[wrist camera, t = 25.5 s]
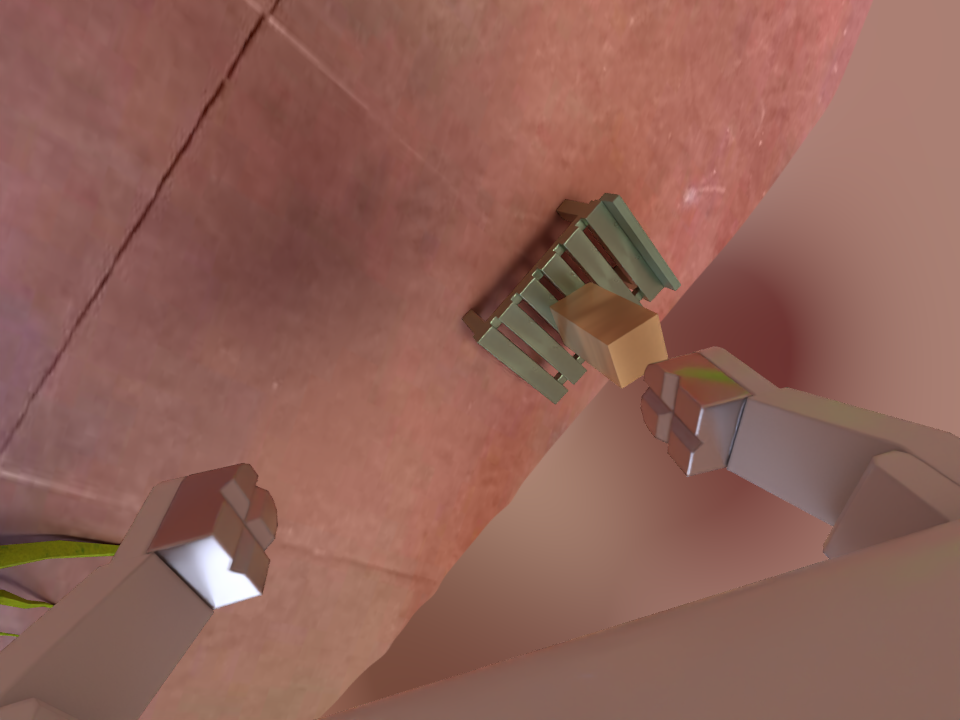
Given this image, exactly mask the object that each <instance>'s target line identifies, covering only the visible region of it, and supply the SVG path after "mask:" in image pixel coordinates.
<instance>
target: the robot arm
mask: <svg viewBox="0 0 960 720" xmlns="http://www.w3.org/2000/svg"><path fill="white" fill-rule="evenodd" d="M644 381H645V382H646V383H647V385H648V386H649V388H648V389H647V390H646V392H645V393H644V394H643V395H642V399H641V411H642V415H643V419H644V422H645V424H646V426H647V428H648V429H649V431H650V432H651V433H652V434H653V436H654V437H655V438H657V439H659V440H661V441H663V442H666V443H668V454H669V455H670V457H671V458H672V459H673V460H674V461H675V463H676V464H677V465H678V466H679V467H680V469H681V470H682V471H683V472H684V473H685V475H686V476H687V477H688V476H692V475H696V474H700V473H704V472H708V471H712V470H716V469H721V468H724V467H727V470H729V471H731V472H733V473H735V474H737V475H739V476H740V477H742V478H744V479H746V480H748V481H750V482H752V483H753V484H756V485H757V486H759V487H761V488H763V489H765V490H766V491H768V492H770V493H772V494H774V495H776V496H778V497H780V498H781V499H783V500H785V501H787V502H789V503H791V504H793V505H794V506H796V507H798V508H800V509H802V510H804V511H805V512H807V513H809V514H811V515H813V516H815V517H817V518H818V519H820V520H822V521H824V522H826V523H828V524H830V525H832V526H833V528H832V530H831V532H830V534H829V535H828V537H827V539H826V540H825V542H824V545H823V553H824V554H825V555H826V556H827V557H828V558H829V559H828V560H825V561H822V562H819V563H815V564H812V565H809V566H806V567H803V568H799V569H796V570H793V571H790V572H787V573H783V574H780V575H777V576H774V577H771V578H767V579H764V580H761V581H758V582H754V583H751V584H748V585H745V586H742V587H738V588H735V589H732V590H729V591H726V592H722V593H720V594H716V595H713V596H709V597H706V598H703V599H700V600H697V601H693V602H690V603H687V604H684V605H681V606H678V607H674V608H671V609H668V610H665V611H661V612H658V613H655V614H652V615H649V616H645V617H642V618H639V619H636V620H632V621H629V622H626V623H623V624H620V625H617V626H613V627H610V628H607V629H604V630H601V631H597V632H594V633H591V634H588V635H585V636H581V637H578V638H575V639H572V640H568V641H565V642H562V643H559V644H555V645H552V646H549V647H546V648H543V649H539V650H536V651H533V652H530V653H527V654H523V655H520V656H517V657H514V658H511V659H508V660H504V661H501V662H498V663H495V664H491V665H488V666H485V667H482V668H479V669H475V670H472V671H469V672H466V673H463V674H459V675H456V676H453V677H450V678H446V679H444V680H440V681H437V682H434V683H431V684H427V685H424V686H421V687H418V688H414V689H411V690H408V691H405V692H402V693H398V694H395V695H392V696H389V697H386V698H382V699H379V700H376V701H373V702H370V703H367V704H363V705H360V706H357V707H354V708H351V709H347V710H344V711H341V712H338V713H335V714H331V715H328V716H325V717H322V718H318V719H315V720H960V438H958V437H957V436H955V435H953V434H951V433H949V432H946V431H942V430H939V429H935V428H931V427H927V426H924V425H920V424H917V423H913V422H910V421H906V420H903V419H899V418H895V417H892V416H888V415H885V414H881V413H877V412H874V411H870V410H867V409H863V408H859V407H856V406H852V405H849V404H845V403H841V402H838V401H834V400H831V399H827V398H823V397H820V396H816V395H813V394H809V393H806V392H802V391H798V390H795V389H791V388H788V387H786V388H782V389H779V388H777V387H776V386H775V385H773V384H772V383H771V382H769V381H768V380H766V379H765V378H764V377H762V376H761V375H759V374H758V373H757V372H755V371H754V370H753V369H751V368H750V367H748V366H747V365H745V364H744V363H742V362H741V361H740V360H738V359H737V358H736V357H734V356H733V355H732V354H730V353H729V352H727V351H726V350H725V349H723V348H720V347H716V346H715V347H711V348H707V349H703V350H700V351H696V352H693V353H691V354H686V355H682V356H678V357H674V358H670V359H666V360H662V361H658V362H654V363H650V364H648V365H647V367H646V369H645V372H644ZM257 479H258V475H257V473H256V472H255V470H254V469H253V468H252V466H251V465H250V464H245V463H241V464H237V465H232V466H228V467H223V468H219V469H214V470H210V471H205V472H201V473H196V474H192V475H189V476H185V477H180V478H176V479H171V480H167V481H162V482H160V483H159V484H157V485H156V486H154V487H153V488H152V490H151V492H150V494H149V495H148V497H147V499H146V501H145V502H144V504H143V506H142V508H141V509H140V511H139V513H138V515H137V516H136V518H135V520H134V522H133V523H132V525H131V527H130V529H129V530H128V532H127V534H126V536H125V537H124V539H123V541H122V543H121V544H120V546H119V548H118V550H117V551H116V553H115V555H114V557H113V558H112V560H111V562H110V564H107V565H103V566H99V567H98V568H97V569H96V570H95V571H94V572H92V573H91V574H90V575H89V576H88V577H87V578H85V579H84V580H83V581H82V582H81V583H80V584H78V585H77V586H76V587H75V588H74V589H73V590H72V591H70V592H69V593H68V594H67V595H66V596H65V597H63V598H62V599H61V600H60V601H59V602H58V603H56V604H55V605H54V606H53V607H52V608H51V609H50V610H48V611H47V612H46V613H45V614H44V615H43V616H41V617H40V618H39V619H38V620H37V621H36V622H34V623H33V624H32V625H31V626H30V627H29V628H27V629H26V630H25V631H24V632H23V633H22V634H21V635H19V636H18V637H17V638H16V639H15V640H14V641H12V642H11V643H10V644H9V645H8V646H7V647H5V648H4V649H3V650H2V651H1V652H0V720H138V718H139V717H140V716H141V714H142V713H143V711H144V710H145V709H146V707H147V706H148V704H149V703H150V702H151V700H152V699H153V697H154V696H155V695H156V693H157V692H158V690H159V689H160V688H161V686H162V685H163V683H164V682H165V681H166V679H167V678H168V676H169V675H170V673H171V672H172V671H173V669H174V668H175V666H176V665H177V664H178V662H179V661H180V659H181V658H182V657H183V655H184V654H185V652H186V651H187V650H188V648H189V647H190V645H191V644H192V643H193V641H194V640H195V638H196V637H197V636H198V634H199V633H200V631H201V630H202V629H203V627H204V626H205V624H206V623H207V621H208V620H209V619H210V617H211V616H212V614H213V613H214V611H213V610H214V609H218V608H221V607H224V606H227V605H231V604H234V603H237V602H240V601H244V600H247V599H250V598H253V597H257V596H260V595H262V594H263V590H264V585H265V581H266V577H267V572H268V568H269V563H270V559H269V558H268V556H267V555H266V553H265V552H264V551H265V550H266V549H267V548H268V546H269V545H270V544H271V543H272V542H273V540H274V539H275V536H276V531H277V526H278V521H277V509H276V506H275V503H274V500H273V498H272V496H271V495H270V493H269V492H268V491H267V490H265V489H262V488H260V487H258V486H256V482H257Z"/></svg>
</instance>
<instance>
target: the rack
mask: <svg viewBox="0 0 960 720" xmlns="http://www.w3.org/2000/svg"><path fill="white" fill-rule="evenodd" d="M556 211H557V212H558V214H559V215H560V216H561V217H562V218H563V220H566V221H569V222H572V223H571V224H570V225H569V227H568V228H567V229H566V230H565V231H564V232H563V233H562V235H561V236H560V237H559V238H558V239H557V240H556V242H555V243H554V244H553V245H552V246H551V247H550V248H549V250H548V251H547V252H546V253H545V254H544V255H543V256H542V258H541V259H540V260H539V261H538V262H537V263H536V264H535V266H534V267H533V268H532V269H531V270H530V271H529V272H528V274H527V275H526V276H525V277H524V278H523V279H522V281H521V282H520V283H519V284H518V285H517V286H516V287H515V289H514V290H513V291H512V292H511V293H510V294H509V295H508V297H507V298H506V299H505V300H504V301H503V302H502V303H501V305H500V306H499V307H498V308H497V309H496V310H495V311H494V313H493V314H492V315H491V316H490V317H489V318H488V320H487V321H486V322H485V321H484V320H483V319H482V318H481V317H480V316H479V315H478V314H477V313H475V312H474V311H473V310H472V309H470V310H469V312H468V313H467V314H466V315H465V316H464V317H463V319H462V320H463V321H464V322H465V323H466V324H467V326H468V327H469V328H470V329H471V330H472V331H473V332H474V336H473V337H474V339H475V340H476V342H477V343H478V344H480V345H481V346H482V347H483V348H485V349H486V350H487V351H488V352H490V353H491V354H492V355H494V356H495V357H496V358H497V359H499V360H500V361H501V362H502V363H504V364H505V365H506V366H507V367H509V368H510V369H511V370H512V371H514V372H515V373H516V374H517V375H519V376H520V377H521V378H523V379H524V380H525V381H526V382H528V383H529V384H530V385H531V386H533V387H534V388H535V389H536V390H538V391H539V392H540V393H541V394H543V395H544V396H545V397H546V398H548V399H549V400H550V401H552V402H553V403H554V404H557V403H558V401H559V400H560V399H561V398H562V397H563V396H564V395H565V394H566V393H567V392H568V390H567V389H566V388H565V387H564V386H563V384H564V383H565V382H566V381H567V380H569V381H570V382H571V383H572V384H575V383H576V382H577V381H578V380H579V379H580V378H581V377H582V376H583V374H584V373H585V372H586V371H587V370H586V369H585V368H584V367H583V366H582V365H581V364H582V363H583V362H584V361H585V360H584V359H583V358H581V357H580V356H579V355H577V354H575V355H574V356H573V357H572V356H571V355H570V354H569V353H568V352H567V351H566V350H565V349H564V348H563V347H562V346H560V345H559V344H558V343H557V342H556V341H555V340H554V339H553V338H552V337H551V336H550V335H549V334H548V333H547V332H545V331H544V330H543V329H542V328H541V327H540V326H539V325H538V324H537V323H536V322H535V321H534V320H533V319H532V318H530V317H529V316H528V315H527V314H526V313H525V312H524V311H523V310H522V309H521V308H520V307H519V306H518V304H519V303H520V302H521V301H522V300H523V299H524V300H525V301H526V302H527V303H528V304H529V305H530V306H531V307H532V308H533V309H534V310H535V311H536V312H537V313H538V314H539V315H540V316H541V317H542V318H543V319H544V320H545V321H547V322H548V323H549V324H550V325H551V326H552V327H553V328H554V329H555V330H556V331H557V332H558V333H559V330H558V328H557V325H556V323H555V320H554V318H553V315H552V313H551V310H550V308H549V307H550V306H551V305H553V304H555V303H556V302H558V300H557V299H556V298H555V297H554V296H553V295H552V294H551V293H550V292H549V291H548V290H547V289H546V288H545V287H544V286H543V285H542V284H541V283H540V282H539V280H540V279H541V278H542V277H543V276H545V277H546V278H547V279H548V280H549V281H550V282H551V283H552V284H553V285H554V286H555V287H556V288H557V289H558V291H559V292H560V293H561V294H562V295H563V296H564V297H566V296H568V295H569V294H571V293H572V292H574V291H576V290H577V289H579V288H581V287H582V286H584V285H585V283H584V282H583V281H582V280H581V279H580V278H579V277H578V276H577V274H576V273H575V272H574V271H573V270H572V269H571V268H570V266H569V265H568V264H567V263H566V262H565V261H564V260H563V259H562V257H561V255H562V254H563V253H564V252H565V251H566V253H567V254H568V255H569V256H570V257H571V258H572V260H573V261H574V262H575V263H576V264H577V265H578V266H579V268H580V269H581V270H582V271H583V272H584V273H585V274H586V276H587V277H588V278H589V279H590V280H591V281H592V283H594V284H596V285H598V286H600V287H602V288H604V289H606V290H608V291H610V292H613V293H615V294H617V295H619V296H621V297H623V298H625V299H627V300H629V301H632V302H634V303H636V304H638V305H640V306H642V305H641V303H640V302H639V301H640V300H641V299H642V298H643V299H645V300H647V301H649V302H651V301H652V300H653V299H654V298H655V297H656V295H657V294H658V293H659V292H660V291H661V290H662V289H663V288H664V287H667V288H669V289H672V290H674V291H676V290H677V289H678V288H679V287H680V286H681V284H680V282H679V281H678V280H677V278H676V277H675V275H674V274H673V272H672V271H671V269H670V268H669V266H668V265H667V264H666V262H665V261H664V259H663V258H662V256H661V255H660V253H659V252H658V250H657V249H656V248H655V246H654V245H653V243H652V242H651V240H650V239H649V237H648V236H647V234H646V233H645V232H644V230H643V229H642V227H641V226H640V224H639V223H638V221H637V220H636V219H635V217H634V216H633V214H632V213H631V211H630V210H629V208H628V207H627V205H626V204H625V203H624V201H623V200H622V198H621V197H620V195H617V194H610V193H604V195H603V196H602V197H601V198H600V199H599V200H594V201H590V203H589V204H587V203H582V202H577V201H572V200H566V199H565V200H564V202H563V203H562V204H561V205H560V206H559V207H558V209H557V210H556ZM586 227H588V229H589V230H590V231H591V233H592V234H593V235H594V236H595V238H596V239H597V240H598V241H599V243H600V244H601V245H602V247H603V248H604V249H605V250H606V252H607V253H608V254H609V255H610V257H611V258H612V259H613V260H614V262H615V263H616V264H617V266H616V267H615V268H614V269H613V268H612V267H611V266H610V265H609V263H608V262H607V261H606V260H605V258H604V257H603V256H602V255H601V253H600V252H599V251H598V250H597V248H596V247H595V246H594V245H593V243H592V242H591V241H590V240H589V239H588V237H587V236H586V235H585V234H584V232H583V230H584V229H585V228H586ZM629 288H630V289H632V290H633V291H632V292H631V291H630V290H629ZM642 307H643V306H642ZM501 323H504V324H505V325H506V326H507V327H508V328H509V329H510V330H512V331H513V332H514V333H515V334H516V335H517V336H518V337H520V338H521V339H522V340H523V341H524V342H525V343H527V344H528V345H529V346H530V347H531V348H532V349H533V350H535V351H536V352H537V353H538V354H539V355H540V356H541V357H543V358H544V359H545V360H546V361H547V362H548V363H549V364H551V365H552V366H553V367H554V368H555V369H556V370H557V371H559V372H558V373H557V374H556V376H555V377H553V376H551V375H550V374H549V373H548V372H547V371H546V370H544V369H543V368H542V367H541V366H540V365H538V364H537V363H536V362H535V361H534V360H533V359H531V358H530V357H529V356H528V355H527V354H525V353H524V352H523V351H522V350H521V349H520V348H518V347H517V346H516V345H515V344H514V343H513V342H511V341H510V340H509V339H508V338H507V337H505V336H504V335H503V334H502V333H501V332H500V331H498V330H497V328H498V327H499V326H500V325H501ZM559 334H560V333H559Z"/></svg>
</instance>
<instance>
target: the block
mask: <svg viewBox="0 0 960 720" xmlns="http://www.w3.org/2000/svg"><path fill="white" fill-rule="evenodd" d="M549 308H550V310H551V313H552V315H553V318H554V320H555V323H556V325H557V328H558V330H559V333H560V335H561V338H562V340H563V343H564V345H566V346H567V347H568V348H570V349H571V350H572V351H573V352H575V353H576V354H577V355H579V356H580V357H581V358H583V359H584V360H585V361H586V362H588V363H589V364H590V365H592V366H593V367H594V368H595V369H597V370H598V371H599V372H601V373H602V374H603V375H605V376H606V377H607V378H608V379H610V380H611V381H612V382H614V383H615V384H616V385H618V386H619V387H620V388H621V389H622V388H624V387H625V386H627V385H628V384H630V383H631V382H633V381H635V380H636V379H637V378H639V377H641V376H642V375H644V372H645V369H646V367H647V365H648V364H650V363H654V362H658V361H662V360H666V359H668V356H667V352H666V347H665V343H664V339H663V335H662V330H661V326H660V321H659V317H658V314H657V313H655V312H653V311H651V310H648V309H646V308H644V307H642V306H640V305H638V304H636V303H634V302H632V301H629V300H627V299H625V298H623V297H621V296H619V295H617V294H615V293H613V292H610V291H608V290H606V289H604V288H602V287H600V286H598V285H596V284H594V283H591V282H589V283H587V284H585V285H584V286H582V287H581V288H579V289H577V290H576V291H574V292H572V293H571V294H569V295H568V296H566V297H564V298H563V299H561V300H559V301H558V302H556V303H555V304H553V305H551V306H550V307H549Z"/></svg>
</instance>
